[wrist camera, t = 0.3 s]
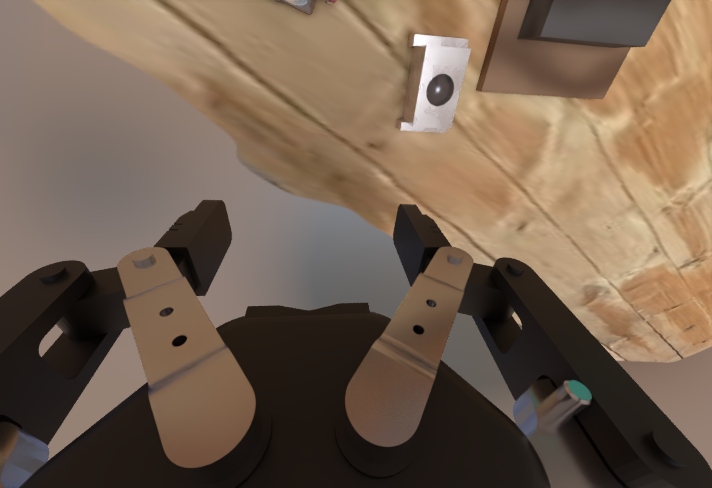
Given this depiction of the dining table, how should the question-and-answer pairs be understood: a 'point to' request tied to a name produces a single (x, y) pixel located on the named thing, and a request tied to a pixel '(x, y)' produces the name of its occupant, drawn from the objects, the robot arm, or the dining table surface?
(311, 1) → the brake caliper
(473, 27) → the dining table surface
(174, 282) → the robot arm
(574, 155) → the dining table surface
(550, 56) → the stand
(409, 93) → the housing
